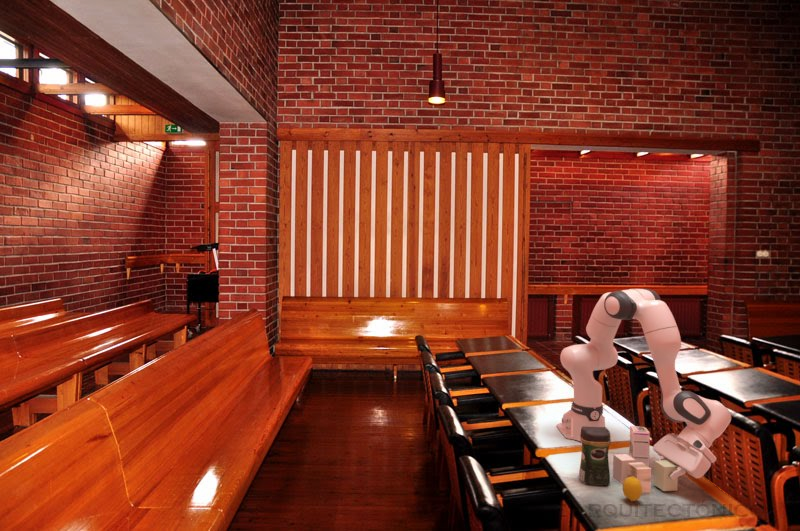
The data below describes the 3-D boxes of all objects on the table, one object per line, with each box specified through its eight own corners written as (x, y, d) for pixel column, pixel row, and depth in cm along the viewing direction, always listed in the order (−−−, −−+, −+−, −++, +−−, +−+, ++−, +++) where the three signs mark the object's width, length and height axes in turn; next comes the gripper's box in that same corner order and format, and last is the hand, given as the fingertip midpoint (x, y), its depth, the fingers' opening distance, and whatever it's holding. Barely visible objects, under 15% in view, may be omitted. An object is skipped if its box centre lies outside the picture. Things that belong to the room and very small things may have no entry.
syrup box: (649, 472, 188) (651, 432, 187) (631, 470, 189) (633, 430, 189) (645, 465, 194) (646, 426, 193) (628, 464, 195) (629, 425, 194)
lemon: (625, 495, 171) (626, 471, 170) (643, 501, 167) (644, 476, 167) (619, 501, 166) (620, 476, 166) (638, 507, 163) (639, 482, 163)
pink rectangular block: (612, 477, 184) (613, 454, 183) (626, 476, 185) (626, 454, 184) (621, 484, 179) (621, 460, 178) (634, 483, 180) (635, 459, 179)
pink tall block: (627, 486, 177) (628, 463, 177) (641, 485, 178) (641, 462, 177) (636, 493, 172) (637, 469, 172) (650, 492, 173) (651, 468, 173)
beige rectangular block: (653, 484, 178) (654, 460, 177) (667, 483, 179) (668, 459, 178) (663, 491, 173) (664, 467, 172) (677, 490, 174) (678, 466, 173)
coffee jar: (604, 476, 184) (606, 423, 183) (612, 487, 176) (614, 432, 175) (576, 475, 185) (577, 422, 184) (582, 486, 177) (584, 431, 176)
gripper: (665, 425, 186) (638, 454, 185) (708, 448, 166) (679, 481, 165) (676, 437, 187) (650, 466, 186) (720, 461, 167) (691, 494, 166)
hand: (664, 473), depth 175 cm, fingers closed on beige rectangular block, 5 cm apart
